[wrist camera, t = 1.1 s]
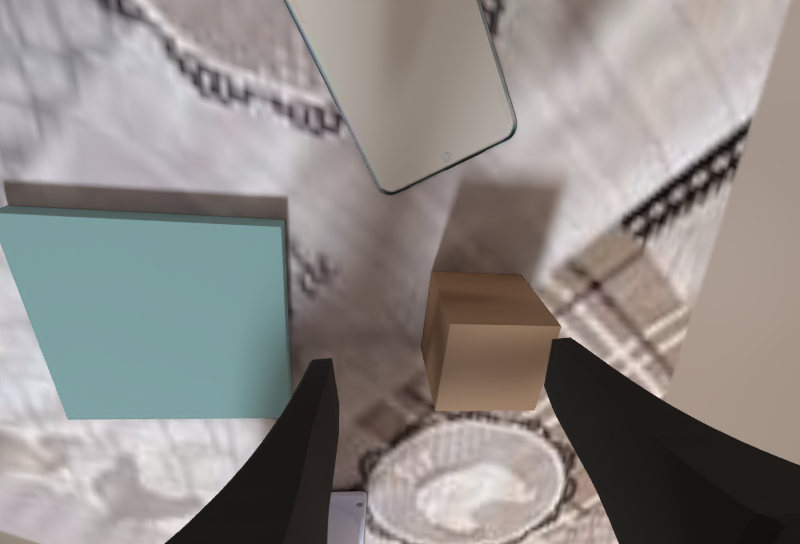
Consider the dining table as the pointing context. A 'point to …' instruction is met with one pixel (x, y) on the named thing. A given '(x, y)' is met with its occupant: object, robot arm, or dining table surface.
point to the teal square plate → (155, 310)
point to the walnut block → (485, 342)
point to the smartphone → (409, 82)
